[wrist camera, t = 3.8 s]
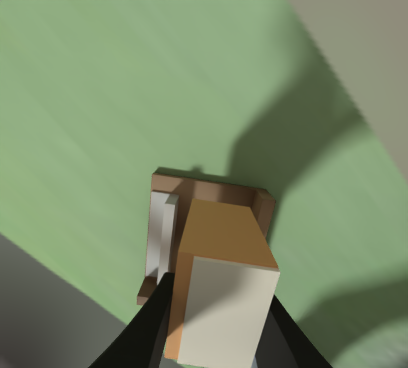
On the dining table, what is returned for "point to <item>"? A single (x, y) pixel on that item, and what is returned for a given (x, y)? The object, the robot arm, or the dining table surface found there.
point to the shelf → (177, 216)
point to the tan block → (220, 287)
